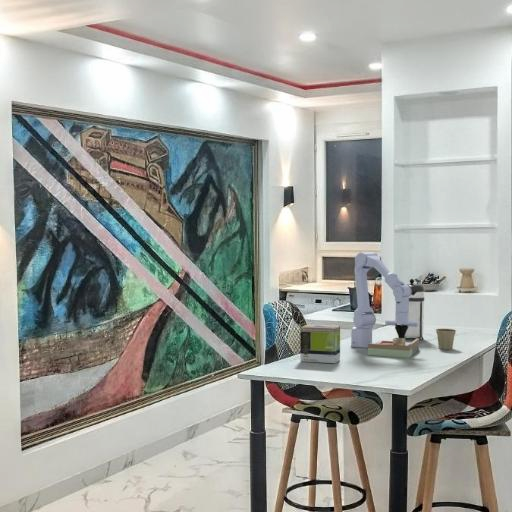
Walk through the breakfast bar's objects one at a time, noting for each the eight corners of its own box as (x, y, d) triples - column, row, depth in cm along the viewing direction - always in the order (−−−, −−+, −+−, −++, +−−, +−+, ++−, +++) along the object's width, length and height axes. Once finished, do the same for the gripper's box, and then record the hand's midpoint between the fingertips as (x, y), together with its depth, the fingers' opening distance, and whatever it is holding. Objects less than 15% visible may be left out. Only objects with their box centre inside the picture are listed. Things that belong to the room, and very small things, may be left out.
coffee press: (433, 339, 394) (435, 279, 393) (411, 341, 385) (412, 280, 384) (408, 335, 409) (409, 277, 407) (386, 337, 400) (387, 278, 398)
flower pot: (456, 350, 361) (456, 331, 360) (435, 349, 362) (435, 331, 362) (455, 347, 370) (455, 329, 369) (434, 346, 372) (435, 328, 371)
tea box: (340, 360, 333) (340, 325, 332) (334, 364, 324) (335, 328, 323) (306, 358, 338) (306, 323, 337) (299, 361, 329) (299, 326, 328)
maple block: (392, 349, 344) (392, 338, 344) (394, 347, 348) (395, 337, 348) (402, 350, 342) (403, 339, 342) (405, 348, 346) (405, 338, 346)
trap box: (368, 354, 347) (368, 343, 347) (379, 346, 369) (380, 336, 369) (409, 357, 340) (409, 346, 340) (418, 349, 363) (418, 338, 362)
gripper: (419, 311, 353) (419, 341, 353) (387, 309, 358) (387, 339, 359) (417, 313, 346) (416, 344, 347) (384, 311, 351) (383, 341, 352)
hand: (401, 342), depth 352 cm, fingers closed
